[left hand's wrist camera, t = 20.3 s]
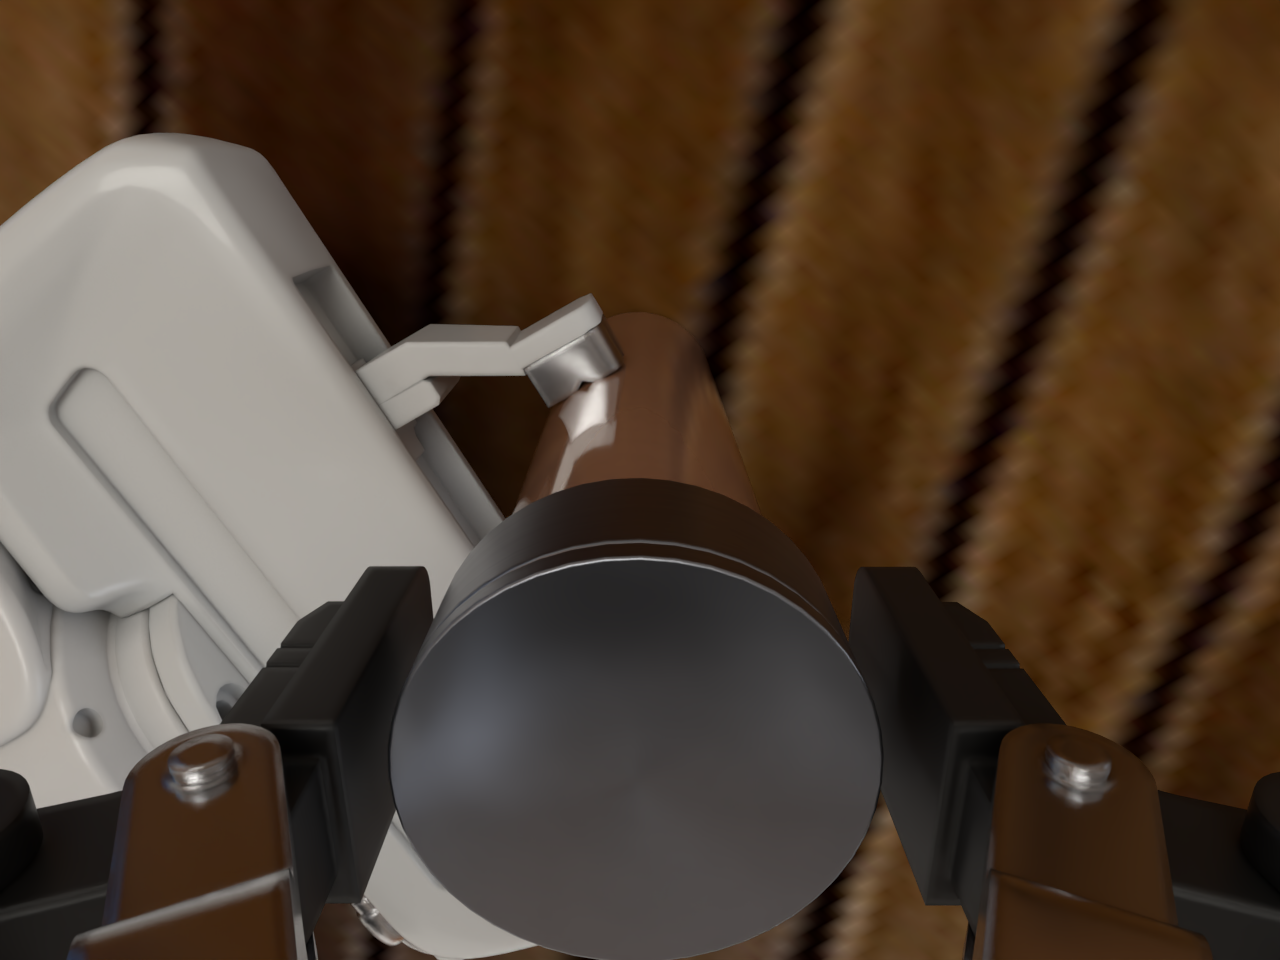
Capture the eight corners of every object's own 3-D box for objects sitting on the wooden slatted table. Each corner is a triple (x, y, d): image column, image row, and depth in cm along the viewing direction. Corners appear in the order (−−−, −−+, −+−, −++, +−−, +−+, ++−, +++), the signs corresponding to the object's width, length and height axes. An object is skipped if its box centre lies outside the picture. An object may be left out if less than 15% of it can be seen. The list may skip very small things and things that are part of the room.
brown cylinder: (659, 480, 26) (688, 923, 11) (537, 407, 25) (382, 775, 10) (739, 363, 24) (901, 676, 9) (614, 282, 24) (570, 483, 9)
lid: (799, 430, 10) (841, 501, 8) (865, 782, 11) (915, 918, 9) (377, 529, 10) (310, 622, 8) (503, 853, 12) (475, 998, 10)
